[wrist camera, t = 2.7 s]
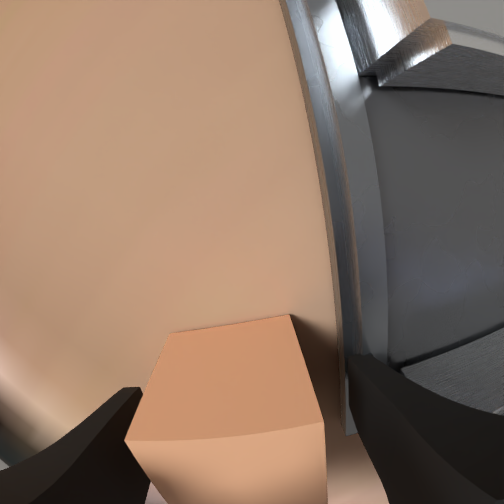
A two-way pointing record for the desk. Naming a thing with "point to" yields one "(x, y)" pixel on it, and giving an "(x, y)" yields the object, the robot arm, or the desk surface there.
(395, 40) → the moving jaw
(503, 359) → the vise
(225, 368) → the block
